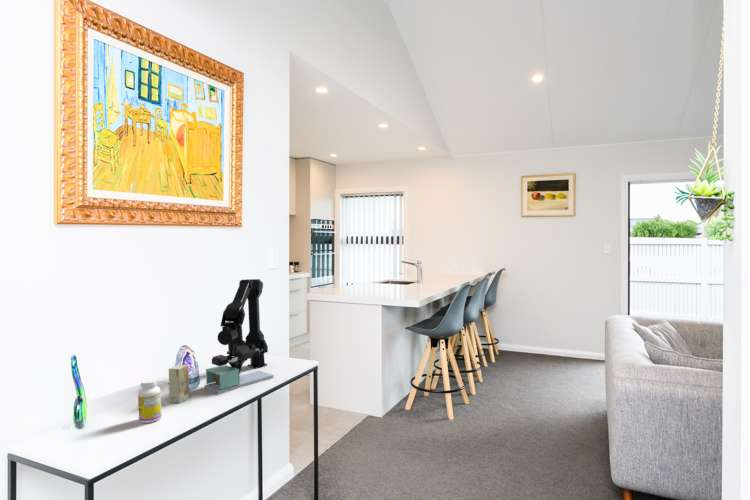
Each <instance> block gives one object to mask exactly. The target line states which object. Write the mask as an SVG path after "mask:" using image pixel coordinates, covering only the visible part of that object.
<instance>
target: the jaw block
mask: <svg viewBox="0 0 750 500" xmlns="http://www.w3.org/2000/svg"><path fill="white" fill-rule="evenodd" d="M215 378H216V385H218V386H220V375H217V374H215Z"/></svg>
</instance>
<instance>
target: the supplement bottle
mask: <svg viewBox="0 0 750 500" xmlns="http://www.w3.org/2000/svg"><path fill="white" fill-rule="evenodd" d="M157 384H158V379H157V378H148V379H144V380H142V381H140V387H141V388H140V389H139V390H138V393H137V402H138V403H137V404H138V405H137V406H138V421H139V422H140V423H141V424H151V422H152V423H155V422H154V421H156V422H158V421H159V419H162V416H163V415H162V395H161V393H162V391H161V388H160V387H159V386H157ZM157 420H158V421H157Z"/></svg>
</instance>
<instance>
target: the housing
mask: <svg viewBox="0 0 750 500" xmlns="http://www.w3.org/2000/svg"><path fill="white" fill-rule="evenodd" d="M215 374H217V375H220V389H224V388H227V387H231V386H234V385H238V384H240V381H239V376H240V375H239V369H237V368H234V367H231V366H230V365H228V364H226V365H222V366H217V365H216V366H213V367H208V368H205V382H206V383H205V385H207V384H211V383H215V382H216V378H215Z"/></svg>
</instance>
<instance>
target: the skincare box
mask: <svg viewBox="0 0 750 500" xmlns="http://www.w3.org/2000/svg"><path fill="white" fill-rule="evenodd" d="M189 379H190V378H189V365H188V364H177V365H175V366H172V367H170V368H168V391H169V392H168V393H169V394H168V396H169V397H168V398H169V399H168V400H169V403H176V404H179V403H182V402H184V401H186V400H187V399H189V398H190V388H189V387H190V383H189V382H190V381H189Z"/></svg>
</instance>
